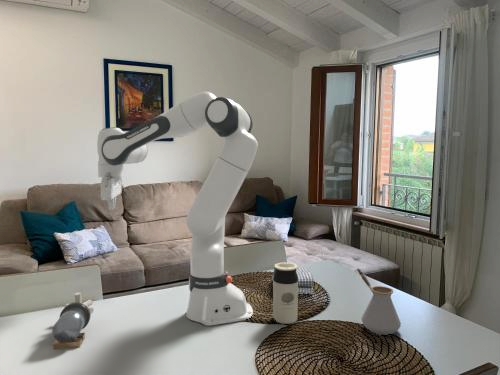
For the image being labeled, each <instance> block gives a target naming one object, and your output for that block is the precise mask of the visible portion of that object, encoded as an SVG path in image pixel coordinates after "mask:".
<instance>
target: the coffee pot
mask: <svg viewBox="0 0 500 375" xmlns="http://www.w3.org/2000/svg"><path fill="white" fill-rule="evenodd" d="M356 271H357V273H358V274H359V276H360V277H361V279H362V280H363V282H364V283H365V284H366V286H367V287H368V288H369V290H370V291H371V292H372V296H371V299H369V300H370V301H369V303H368V305H367V306H366V309H365V310H364V312H363V314H362V315H361V316H362V317H361V322H362V324H363V325H364V327H365V328H366V329H367V330H368V329H369V330H370V331H372V332H374V333H377V334H383V335H388V334H392V335H393V334H394V333H396V332H397V331H399V329H400V328H401V324H402V323H401V319H400V318H399V315H398V312H397V310H396V308H395V305H394V303H393V299H392V297H391V296H392V294H393V293H394V289H393V288H391V287H387V286H380V285H377V286H372V285H371V283H370V281H369V280H368V278H367V277H366V276H365V275H364V273H363V271H362V269H360V268H356V269H354V272H356ZM369 330H368V331H369ZM370 331H369V332H370ZM374 333H373V334H374ZM377 334H376V335H377ZM388 336H389V335H388Z"/></svg>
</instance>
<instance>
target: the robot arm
mask: <svg viewBox="0 0 500 375" xmlns="http://www.w3.org/2000/svg"><path fill="white" fill-rule="evenodd" d="M253 124H254V122H253V119H252V117H251V115H250V113H249V112H248V111H246V110H245V109H244V108H243V107H242V106H241V105H240V104H239V103H237V102H235V101H234V100H232V99H231V98H228V97H223V96H219V97H217V96H216V95H215V94H213V93H212V92H211V91H202V92H199V93H196V94H194V95H191V96H190V97H188V98H186V99H184V100H182V101H181V102H179V103H177V104H176V105H173V107H171V108H169V109H167V110H166V111H165V112H162V113H161V114H159V115H158V116H155V117H154V118H152V119H150V120H148V121H146V122H144V123H141V124H140V125H138V126H136V127H134V128H132V129H130V130H129V131H127V132H126V131H125V132H124V131H123V130H122V129H121V128H119V127H114V126H113V127H106V128H102V129H101V130H99V132H98V134H97V141H96V142H97V143H96V144H97V148H96V149H97V154H98V161H97V173H98V174H97V176H98V178H101V179H100V180H101V181H100V199H101V201H107V205H108V210H109V211H113V210H115V209H116V201H117V197H118V196H119V195H121V193H122V189H123V188H122V187H123V186H122V185H123V177H124V173H125V172H124V165H130V164H139V163H141V162H143V161H145V159H146V158H147V155H148V145H147V144H149V143H151V142H154V141H157V140H161V139H171V138H172V139H173V138H175V139H176V138H177V139H178V138H183V137H186V136H190V135H191V134H194V133H196V132H197V131H200V130H202V129H203V128H204V127H206V126H207V127H208V126H209V127H210V128H211V129H212V130H214V131H215V133H216V134H217V135H218V136H219V137H220V138H223V146H222V148H221V150H220V152H219V153H218V156H217V157H216V160H215V162H214V164H213V166H212V168H211V170H210V172H209V174H208V175H207V177H206V180H205V181H204V183H203V184H202V185H201V188H200V190H199V191H198V193H197V195H196V197H194V198H195V199H194V201H192V204H191V206H190V207H189V209H188V212H187V214H186V219H185V220H186V221H185V222H186V227H187V229H188V231H189V232H190V233H191V235H192V236H191V244H190V253H189V255H190V256H189V257H190V260H189V262H190V272H189V276H188V289H189V291H190V292H189V298H188V299H189V300H188V305H187V310H186V312H185V315H186V318H188V319H189V320H191V321H193V322H197V323H201V324H203V325H205V326H207V327H210V326H216V325H217V326H218V325H221V324H229V323H235V322H240V321H241V322H242V321H247V320H246V319H248V320H250V319H249V318H251V316H252V315H253V316H254V309H253V306H252V305H251V304H250V303H249V302H247V300H246V296H245V294H244V292H243V290H241V289H240V288H238V287H237V286H235V285H234V284H233V283H232V282H233V277H232V276H231V275H230V274H229V272H228V271H225V270H224V266H225V265H224V263H225V262H224V261H225V260H224V259H225V258H224V256H225V255H224V254H225V253H224V251H225V249H224V248H225V234H226V232H225V231H226V225H225V224H226V216H227V213H228V212H229V210H230V208H231V206H232V204H233V203H234V200H235V198H236V196H237V195H238V192H239V191H240V188H241V187H242V185H243V183H244V181H245V179H246V177H247V176H248V174H249V171H250V169H251V167H252V165H253V162H254V160H255V158H256V154H257V151H258V148H259V147H258V146H259V143H258V141H257V139H256V137H255V136H254V135H253V134H251V133H252V130H253V127H254V126H253ZM253 316H252V317H253ZM251 319H252V318H251Z"/></svg>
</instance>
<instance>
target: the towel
mask: <svg viewBox="0 0 500 375" xmlns="http://www.w3.org/2000/svg"><path fill="white" fill-rule="evenodd" d="M275 271H276V270H275V267H273V274H274V273H275ZM296 273H297V275H298V295H299V294H300V293H309V295H313V294H314V288H313V287H314V285H315V284H314V277H313V275H312V272H310V271H309V269H308V268H307V267H297V269H296ZM271 276H272V278H271V281H272V280H273V275H271ZM310 293H311V294H310Z"/></svg>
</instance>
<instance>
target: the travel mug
mask: <svg viewBox="0 0 500 375" xmlns="http://www.w3.org/2000/svg"><path fill="white" fill-rule="evenodd" d="M273 266H274V267H275V270H276V271H275V273H274V272H273V275H272V276H273V283H272V286H273V288H272V289H273V290H272V291H273V292H272V293H273V294H272V298H273V299H272V302H273V303H272V319H273V318H274V319H275V320H276V321H275V320H274V319H273V320H274V321H275V322H276V323H279V324H283V325H284V324H286V325H290V324H292V323H295V322H297V321H298V304H299V302H298V301H299V298H298V297H299V294H298V275H297V273H296V269H297V268H298V265H297V264H295V263H293V262H278V263H275V264H274V265H273ZM274 267H273V268H274Z"/></svg>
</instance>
